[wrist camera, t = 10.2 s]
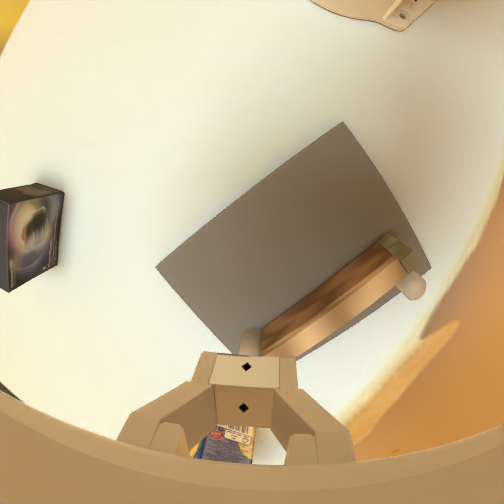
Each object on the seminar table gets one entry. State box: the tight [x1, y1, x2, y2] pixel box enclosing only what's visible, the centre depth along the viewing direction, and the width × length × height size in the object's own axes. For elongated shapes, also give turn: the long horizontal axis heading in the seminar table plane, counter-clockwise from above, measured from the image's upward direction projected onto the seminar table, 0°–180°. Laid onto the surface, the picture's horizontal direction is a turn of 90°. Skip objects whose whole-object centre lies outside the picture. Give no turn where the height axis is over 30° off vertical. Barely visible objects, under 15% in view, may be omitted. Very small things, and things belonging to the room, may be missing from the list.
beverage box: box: [189, 424, 255, 464], centre depth 29 cm, size 7×11×22 cm, turn 156°
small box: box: [0, 183, 64, 293], centre depth 27 cm, size 11×6×10 cm, turn 163°
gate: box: [259, 233, 421, 358], centre depth 27 cm, size 17×2×7 cm, turn 131°
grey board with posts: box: [155, 122, 431, 361], centre depth 27 cm, size 25×19×9 cm
